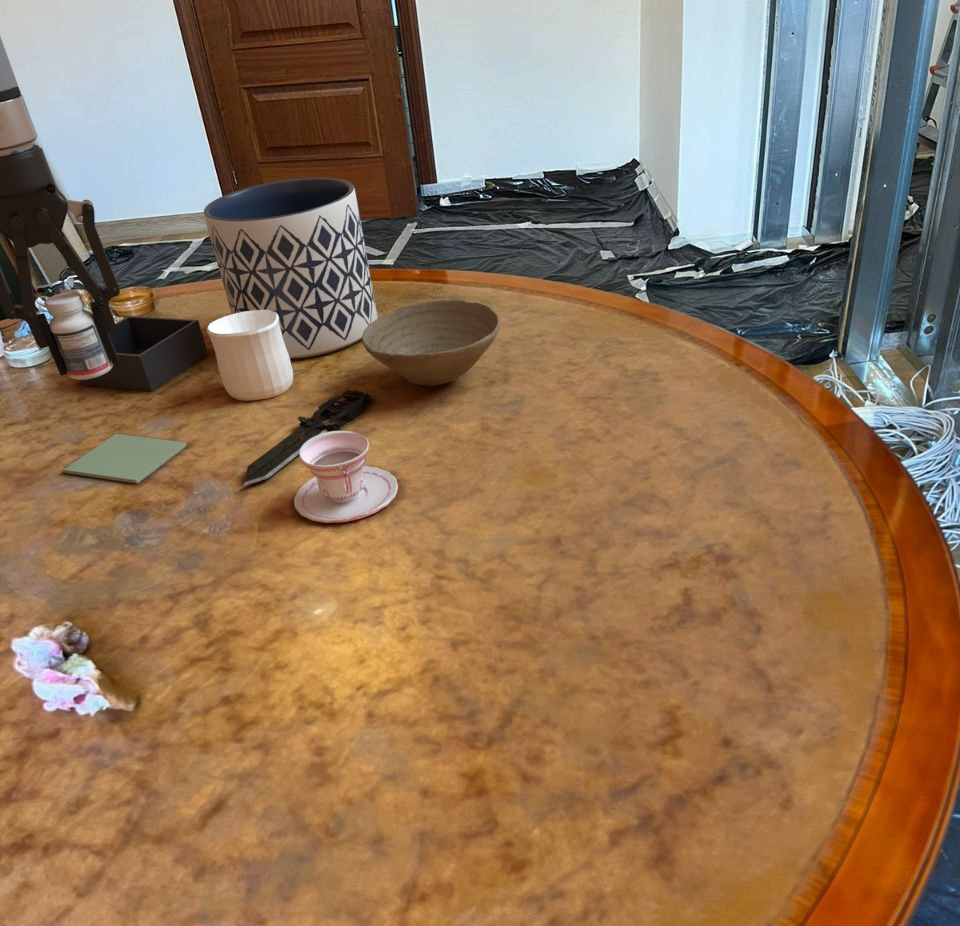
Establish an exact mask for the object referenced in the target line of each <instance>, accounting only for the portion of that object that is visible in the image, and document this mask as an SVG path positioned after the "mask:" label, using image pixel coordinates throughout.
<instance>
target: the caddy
mask: <svg viewBox="0 0 960 926" xmlns="http://www.w3.org/2000/svg"><path fill="white" fill-rule="evenodd" d="M115 324H116V331H113V332H108V333H109V335H110V338H111V341H112V343H113V346H114V348H115V351H116V354H117V358H118V362H117V363H113V367H112V369H111V370H110V371H109V372H107V373H105V374H103V375H101V376H98V377H95V378H91V379H85V380H79V383H80V385H84V386H92V387H103V388H113V389H114V388H115V389H122V390H123V389H124V390H125V389H126V390H133V391H134V390H135V391H145V392H153V391H155V390H156V389H157V388H160V387H161V386H163V385H164V384H166V383H167V382H168V381H170V380H172V379H173V378H174V377H176V376H177V375H179V374H180V373H182V372H183V371H185V370H187V369H188V368H190V366H192V365H194V364H195V363H197V362H198V361H199V360H201V359H203V358H204V357H206V356H208V355H209V351H208V348H207V345H206V341H205V338H204V334H203V331H202V328H201V325H200V322H199V319H189V318H187V319H185V318H171V317H169V318H168V317H155V316H153V317H151V316H135V315H128V316H125V317H124V318H122V319H120V320H119V321H117V322H115Z"/></svg>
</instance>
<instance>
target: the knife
mask: <svg viewBox="0 0 960 926" xmlns="http://www.w3.org/2000/svg"><path fill="white" fill-rule="evenodd" d="M341 399H344V400H341ZM372 401H373V399H372V394H369V393H368V392H365V391H363V390H359V389H352V390H344V391H343V392H342V394H339V395H337V396H335V397H331V398H328V399H327V400H325V401H324V402H322V404H320V405H318V407H317V408H318V409H316V410H314V412H313V414H312V415H311V417H305V416H298V417H297V420H298V422H300V423H299V427H298V428H297V429H295V430H294V431H293V432H292V433H290V434H289V435H287V436H286V437H285V438H283V439H282V440H281V441H280V442H278V443H277V444H275V445H274V446H273V447H272V448H270V449H269V450H267V451H266V452H265V453H263V454H262V455H261V456H259V457H258V458H257V459H256V460H254V461H252V463H250V464H248V465H247V468H246V473H245V479H247V480H245V481H244V483H243V485H242V486H243V487H245V486H249V485H251V484H254V483H258V482H261V481H263V480H267V479H270V477H272V476H273V475H274V474H276V473H277V472H278V471H279V470H280V469H282V468H283V467H284V466H285V465H287V464H288V463H289V462H291V461H292V460H294V459H295V458H296V457H297V456H299V451H300V449H301V447H302V446H303V444H304V443H305V442H306V441H308V440H309V439H311V438H313V437H315V436H317V435H319V434H322V433H326V432H331V431H342V429H341V428H340V427H342V426H344V425H345V424H347V423H348V422H352V421H353V420H355V419H356V418H357V417H358V416H360V415H361V414H362V413H363V412H364V411H365V408H366V406H367V405H368V404H370V403H371V402H372ZM344 405H345V406H344ZM331 417H332V418H331ZM327 418H331V419H330V420H328V421H325V422H323V421H324V420H326V419H327ZM339 419H341V420H340V421H337V420H339Z"/></svg>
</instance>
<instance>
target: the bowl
mask: <svg viewBox="0 0 960 926" xmlns="http://www.w3.org/2000/svg"><path fill="white" fill-rule="evenodd" d="M500 327H501V318H500V316H499V314H498V313H497V312H496V311H495V310H494V309H493V308H491V307H490V306H487V305H485V304H481V303H479V302H469V301H468V302H467V301H465V300H460V299H451V300H445V299H439V300H438V299H437V300H429V301H424V302H418V303H414V304H409V305H406V306H403V307H399V308H397V309H393V310H391V311H388V312H387V313H384V314H382V315H381V316H378V319H376V320H375V321H373V322H372V323H371V324H370V325H369V326H368V327H367V328H366V329H365V330H364V332H363V336H362V339H361V343H362V345H363V347H364V349H365V351H366V352H367V353H368V354H369V355H370V356H372V357H373V358H374V359H375V360H377V361H378V362H380V363H381V364H383V365H385V366H386V367H387V368H389V369H390V370H392V371H394V372H396V373H397V374H399V375H400V376H402V377H403V378H404V379H406V381H408V382H409V383H412V384H414V385H418V386H428V387H430V386H441V385H445V384H448V383H450V382H452V381H454V380H457V379H459V378H460V377H462V376H463V375H464V374H466V373H467V372H468V371H469V370H470V369H471V368H473V367H474V365H475V364H476V363H477V362H478V361H479V360H480V359H481V357H482V356H483V355H484V354H485V353H486V351H487V350H488V349H489V348H490V346H492V344H493V342H495V339H496V338H497V335H498V333H499V332H500Z"/></svg>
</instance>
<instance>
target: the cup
mask: <svg viewBox="0 0 960 926" xmlns="http://www.w3.org/2000/svg"><path fill="white" fill-rule="evenodd" d="M206 334H207V335H208V337H209V339H210V341H211V344H212V347H213V350H214V353H215V357H216V363H217V368H218V373H219V375H220V378H221V383H222V385H223V388H224V389H225V391H226V392H227V393H228V395H229V396H230V397H231V398H232V399H235V400H237V401H246V402H247V401H258V400H259V401H260V400H267V399H271V398H275V397H277V396H281V395H283V394H284V393H286V392H288V391H289V390H290V388H291V387H292V386H293V383H294V369H293V366H292V362H291V359H290V358H289V355H288V352H287V349H286V346H285V343H284V340H283V337H282V333H281V329H280V325H279V316H278V314H277V313H276V312H274V311H271V310H254V311H245V312H240V313H235V314H232V313H231V314H229V315H224V316H223V317H220V318H217V319H215V320H214V321H211V322H210V323H209V324H208V326H207V328H206Z"/></svg>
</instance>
